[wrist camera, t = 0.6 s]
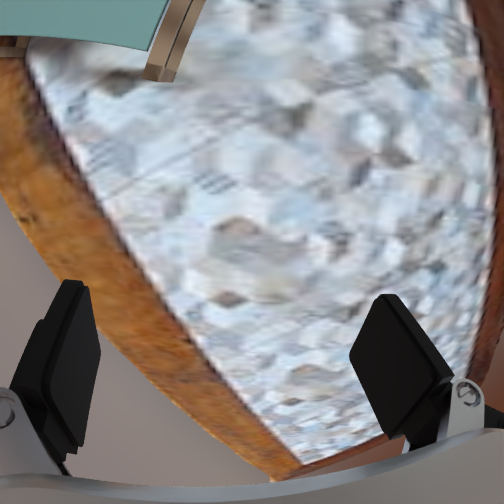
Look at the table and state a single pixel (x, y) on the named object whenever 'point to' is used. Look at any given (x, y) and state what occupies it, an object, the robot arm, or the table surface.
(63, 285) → the robot arm
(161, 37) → the stand
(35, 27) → the hatch door
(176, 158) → the table surface
